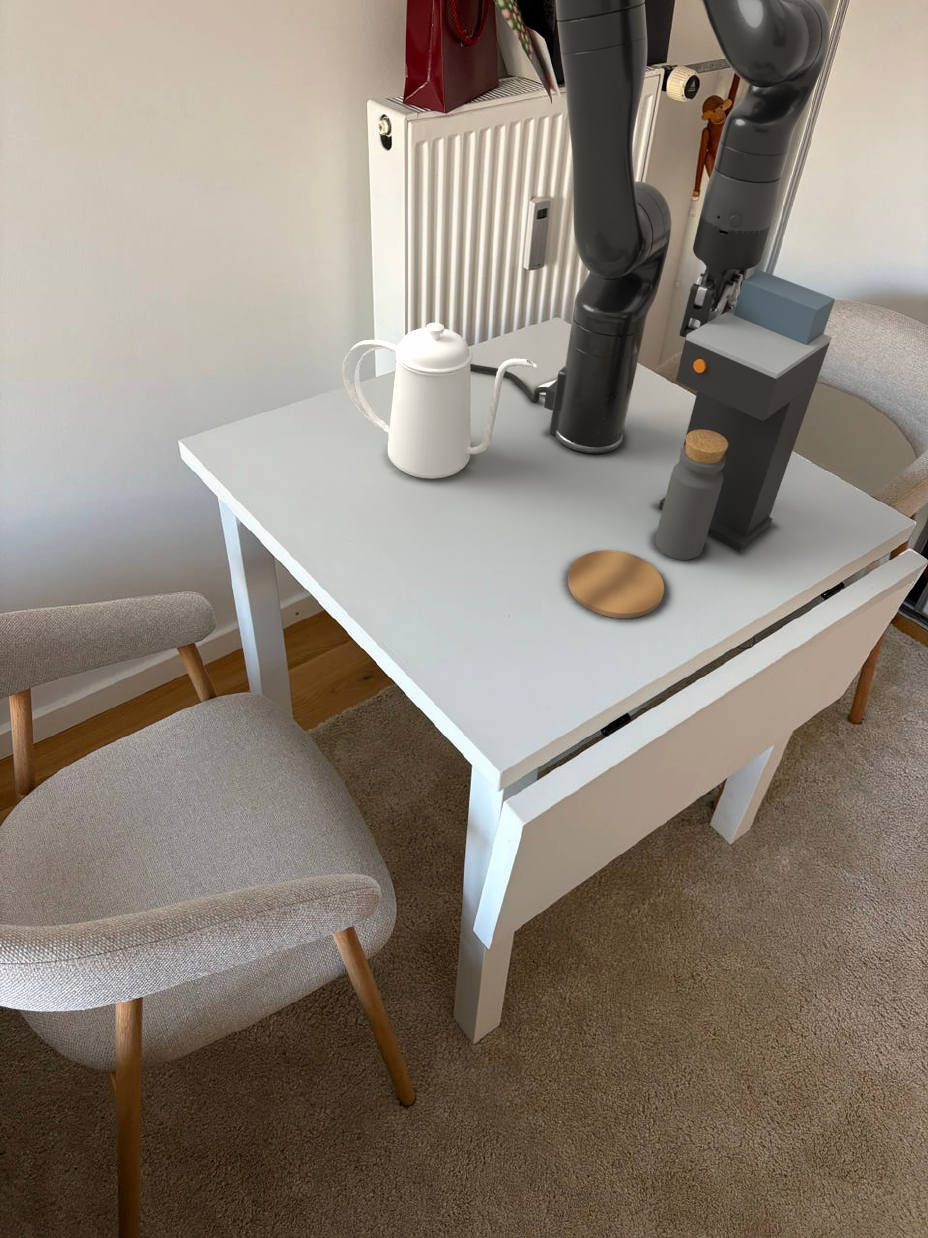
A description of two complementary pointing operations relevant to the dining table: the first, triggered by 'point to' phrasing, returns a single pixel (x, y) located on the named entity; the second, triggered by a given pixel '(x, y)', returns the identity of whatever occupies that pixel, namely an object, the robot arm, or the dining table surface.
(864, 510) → the dining table surface
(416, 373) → the coffeepot
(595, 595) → the disc
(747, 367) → the coffee maker
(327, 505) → the dining table surface
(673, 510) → the bottle
